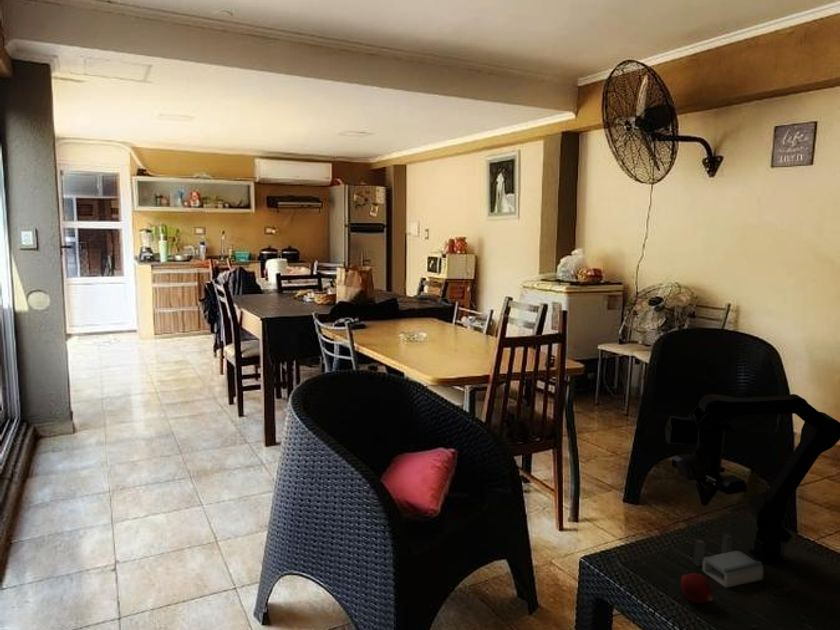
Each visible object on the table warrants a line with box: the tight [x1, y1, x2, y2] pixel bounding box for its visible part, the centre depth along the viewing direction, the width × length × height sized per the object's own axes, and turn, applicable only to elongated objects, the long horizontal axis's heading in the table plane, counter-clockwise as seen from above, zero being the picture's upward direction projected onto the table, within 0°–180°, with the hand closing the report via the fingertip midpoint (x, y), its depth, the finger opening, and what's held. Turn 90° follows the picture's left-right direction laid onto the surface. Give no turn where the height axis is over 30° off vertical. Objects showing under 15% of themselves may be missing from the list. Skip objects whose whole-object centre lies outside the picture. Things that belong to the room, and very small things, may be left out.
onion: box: [680, 572, 714, 604], centre depth 133 cm, size 6×6×8 cm
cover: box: [703, 550, 764, 577], centre depth 143 cm, size 11×7×1 cm, turn 109°
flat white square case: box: [692, 533, 765, 588], centre depth 144 cm, size 11×10×6 cm
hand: (704, 505), depth 153 cm, fingers closed
